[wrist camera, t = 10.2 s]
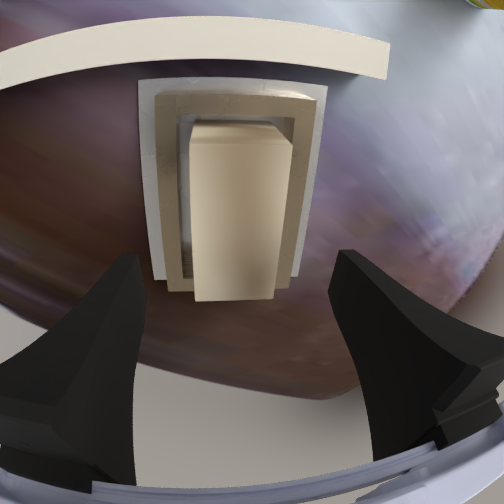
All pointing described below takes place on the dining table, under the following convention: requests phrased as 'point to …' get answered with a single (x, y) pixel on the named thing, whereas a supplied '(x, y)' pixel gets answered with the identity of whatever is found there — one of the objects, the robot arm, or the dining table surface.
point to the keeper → (178, 162)
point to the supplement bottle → (487, 4)
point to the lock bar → (237, 207)
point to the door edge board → (194, 46)
